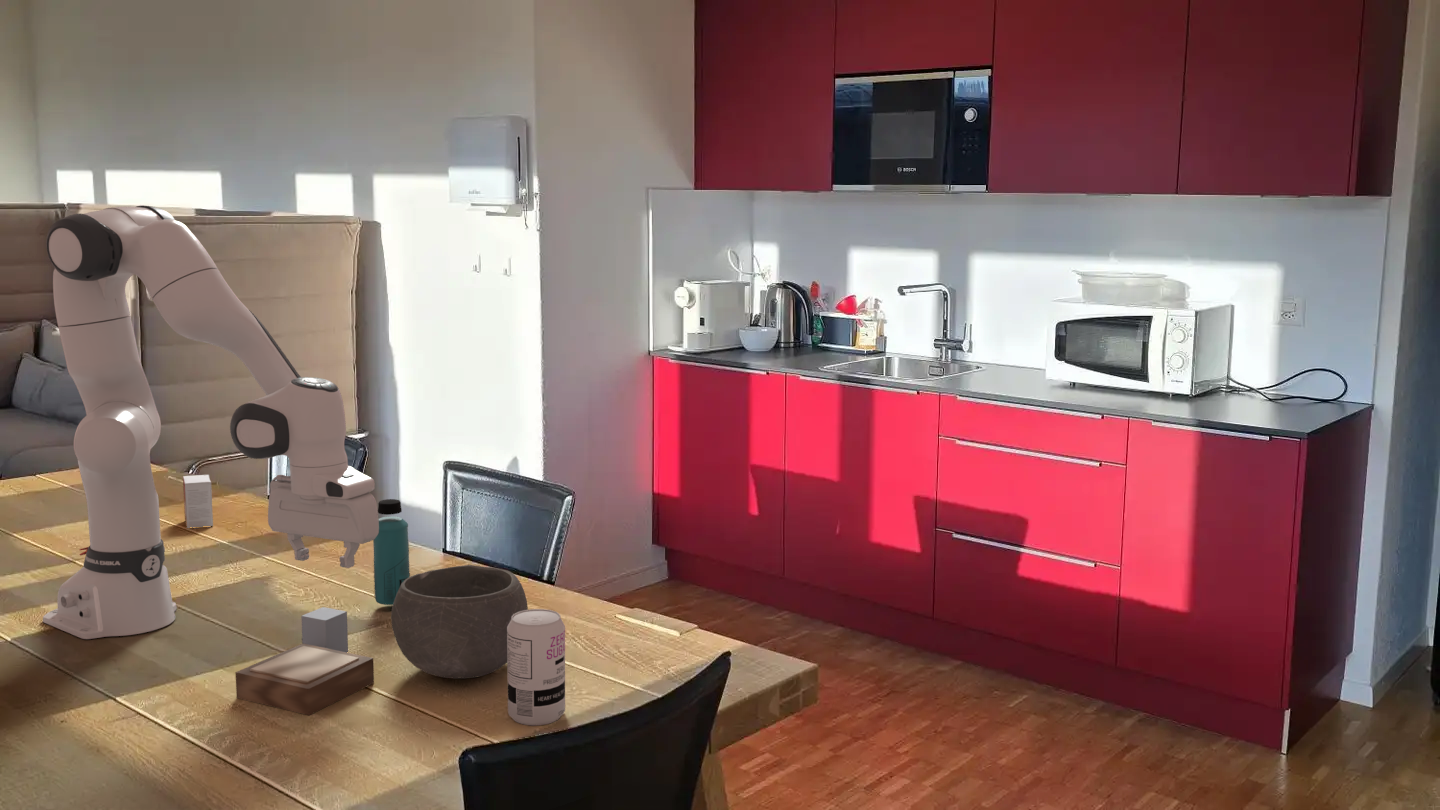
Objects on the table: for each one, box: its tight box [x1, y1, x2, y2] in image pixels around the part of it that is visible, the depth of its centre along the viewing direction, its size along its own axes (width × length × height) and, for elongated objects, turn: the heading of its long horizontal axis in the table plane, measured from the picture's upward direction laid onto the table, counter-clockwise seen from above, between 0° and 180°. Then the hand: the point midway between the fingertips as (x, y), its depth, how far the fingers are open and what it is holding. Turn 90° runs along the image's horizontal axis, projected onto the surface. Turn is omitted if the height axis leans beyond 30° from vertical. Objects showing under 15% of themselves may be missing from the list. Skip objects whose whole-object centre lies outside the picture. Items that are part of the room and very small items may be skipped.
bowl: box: [390, 564, 529, 679], centre depth 200 cm, size 21×21×15 cm
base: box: [235, 643, 375, 716], centre depth 192 cm, size 14×14×4 cm
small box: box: [182, 474, 214, 529], centre depth 285 cm, size 8×6×10 cm
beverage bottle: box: [372, 498, 411, 606], centre depth 230 cm, size 6×7×20 cm
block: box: [300, 606, 349, 653], centre depth 207 cm, size 5×5×7 cm
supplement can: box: [506, 608, 566, 726], centre depth 183 cm, size 8×8×15 cm
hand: (324, 563), depth 205 cm, fingers open, 8 cm apart
